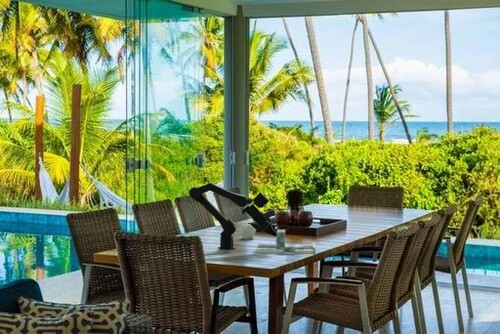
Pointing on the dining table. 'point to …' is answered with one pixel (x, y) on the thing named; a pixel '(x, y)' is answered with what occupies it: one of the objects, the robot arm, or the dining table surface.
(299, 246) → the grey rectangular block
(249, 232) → the die
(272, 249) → the pale green open frame
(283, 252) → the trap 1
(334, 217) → the dining table surface
